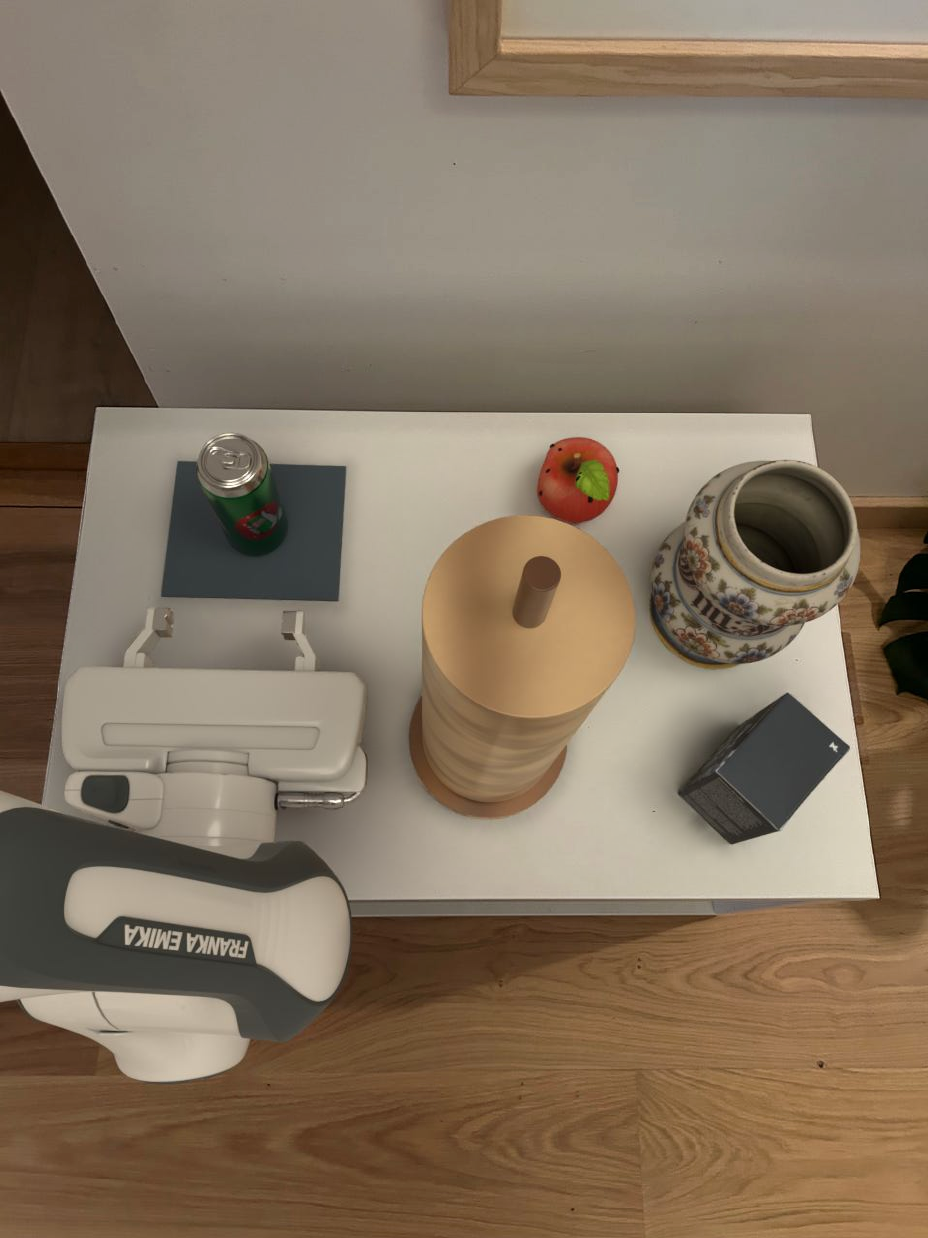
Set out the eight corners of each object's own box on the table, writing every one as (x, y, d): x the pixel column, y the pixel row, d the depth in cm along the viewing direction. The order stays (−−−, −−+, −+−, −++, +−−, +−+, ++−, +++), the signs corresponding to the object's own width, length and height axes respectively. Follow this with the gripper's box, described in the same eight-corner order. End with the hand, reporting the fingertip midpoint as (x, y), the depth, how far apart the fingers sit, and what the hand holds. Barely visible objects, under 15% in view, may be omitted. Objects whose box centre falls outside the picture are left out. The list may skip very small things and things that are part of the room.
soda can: (230, 500, 77) (197, 425, 66) (291, 503, 78) (269, 429, 66) (222, 557, 76) (187, 490, 64) (285, 560, 76) (262, 494, 65)
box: (739, 722, 73) (789, 689, 63) (795, 774, 72) (855, 748, 62) (673, 793, 71) (714, 770, 61) (730, 848, 70) (781, 833, 60)
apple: (511, 494, 79) (523, 434, 69) (573, 451, 80) (594, 387, 71) (569, 562, 77) (589, 510, 68) (632, 517, 79) (660, 460, 69)
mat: (161, 596, 75) (161, 595, 75) (178, 461, 79) (177, 460, 78) (338, 601, 75) (338, 600, 75) (346, 467, 79) (345, 465, 79)
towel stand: (406, 818, 70) (392, 711, 37) (411, 663, 74) (402, 440, 41) (566, 820, 70) (695, 718, 37) (563, 666, 74) (676, 449, 41)
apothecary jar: (802, 667, 75) (914, 587, 58) (658, 695, 74) (729, 623, 57) (756, 530, 79) (849, 418, 62) (618, 556, 77) (674, 448, 60)
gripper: (363, 804, 60) (372, 600, 64) (37, 798, 59) (69, 592, 64) (368, 816, 66) (376, 628, 70) (72, 811, 65) (99, 622, 70)
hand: (228, 611), depth 67 cm, fingers open, 8 cm apart
